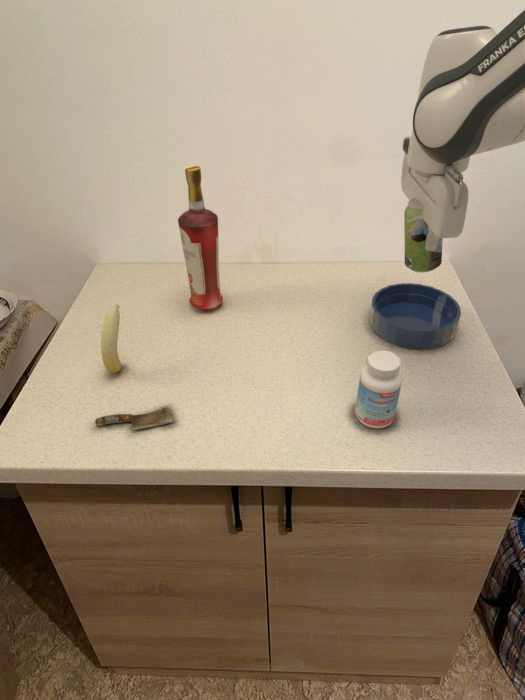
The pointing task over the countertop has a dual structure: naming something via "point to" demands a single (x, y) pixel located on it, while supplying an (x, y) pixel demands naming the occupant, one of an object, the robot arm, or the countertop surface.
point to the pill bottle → (379, 390)
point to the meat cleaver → (138, 419)
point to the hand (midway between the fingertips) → (422, 238)
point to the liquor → (200, 246)
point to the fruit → (111, 340)
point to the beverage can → (419, 241)
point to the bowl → (414, 316)
